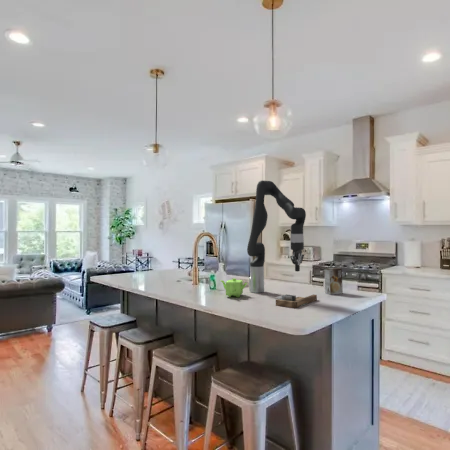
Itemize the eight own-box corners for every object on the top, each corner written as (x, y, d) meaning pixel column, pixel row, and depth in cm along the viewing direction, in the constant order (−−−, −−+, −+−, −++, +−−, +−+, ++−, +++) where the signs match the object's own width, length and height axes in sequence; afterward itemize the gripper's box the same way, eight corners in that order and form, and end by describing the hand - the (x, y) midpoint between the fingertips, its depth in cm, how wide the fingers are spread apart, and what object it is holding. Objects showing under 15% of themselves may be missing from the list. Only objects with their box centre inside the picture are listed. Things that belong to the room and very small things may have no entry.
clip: (281, 302, 189) (281, 295, 189) (286, 301, 193) (286, 294, 193) (291, 304, 185) (290, 296, 185) (295, 302, 189) (295, 295, 189)
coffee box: (337, 292, 222) (336, 267, 222) (342, 293, 216) (342, 268, 216) (324, 293, 219) (324, 268, 220) (330, 294, 213) (329, 269, 214)
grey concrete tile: (274, 298, 206) (274, 297, 206) (281, 296, 212) (281, 295, 212) (289, 300, 200) (289, 299, 200) (296, 297, 206) (296, 297, 206)
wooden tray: (275, 305, 186) (275, 299, 186) (298, 297, 206) (298, 292, 206) (295, 308, 178) (295, 302, 179) (316, 299, 198) (316, 294, 198)
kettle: (231, 299, 205) (231, 280, 206) (218, 296, 217) (218, 278, 217) (250, 296, 214) (250, 278, 214) (237, 293, 226) (236, 276, 226)
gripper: (296, 241, 206) (297, 269, 205) (285, 241, 195) (286, 272, 195) (308, 241, 201) (308, 270, 201) (297, 242, 191) (297, 273, 191)
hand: (297, 271), depth 198 cm, fingers closed
